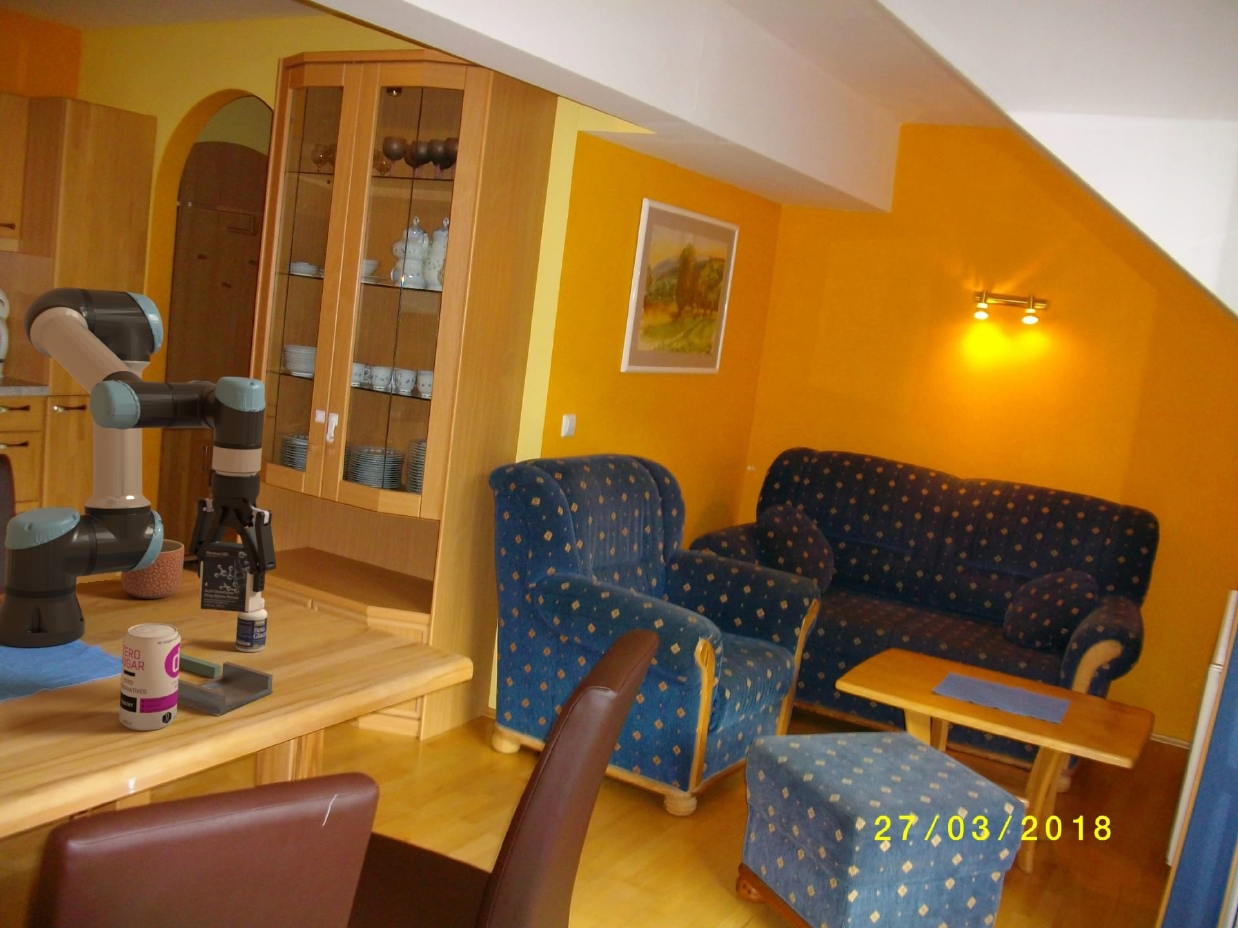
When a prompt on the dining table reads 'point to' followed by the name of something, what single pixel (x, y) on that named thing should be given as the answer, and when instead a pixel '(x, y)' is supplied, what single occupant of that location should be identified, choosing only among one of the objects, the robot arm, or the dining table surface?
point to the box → (224, 577)
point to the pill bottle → (252, 630)
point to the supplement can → (149, 676)
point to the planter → (157, 574)
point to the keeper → (225, 690)
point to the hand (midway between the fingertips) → (229, 603)
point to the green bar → (199, 666)
